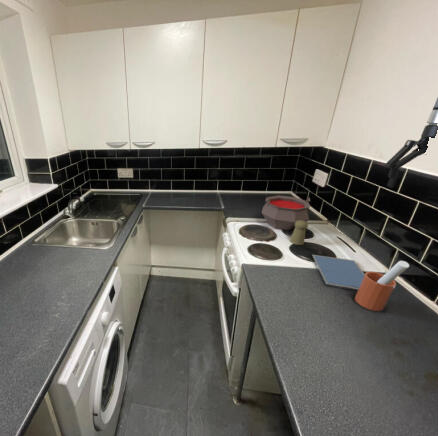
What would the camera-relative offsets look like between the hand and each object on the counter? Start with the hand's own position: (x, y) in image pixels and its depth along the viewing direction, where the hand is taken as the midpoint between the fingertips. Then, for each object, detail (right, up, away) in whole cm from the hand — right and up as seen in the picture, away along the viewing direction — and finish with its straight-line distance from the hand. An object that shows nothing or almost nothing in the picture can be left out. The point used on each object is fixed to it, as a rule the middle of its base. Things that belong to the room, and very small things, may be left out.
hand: (414, 188), depth 82 cm
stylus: (-23, -38, -5) cm, 44 cm away
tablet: (-21, -32, +7) cm, 39 cm away
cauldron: (-20, -15, +47) cm, 53 cm away
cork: (-23, -23, +30) cm, 44 cm away
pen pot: (-23, -39, -7) cm, 46 cm away
